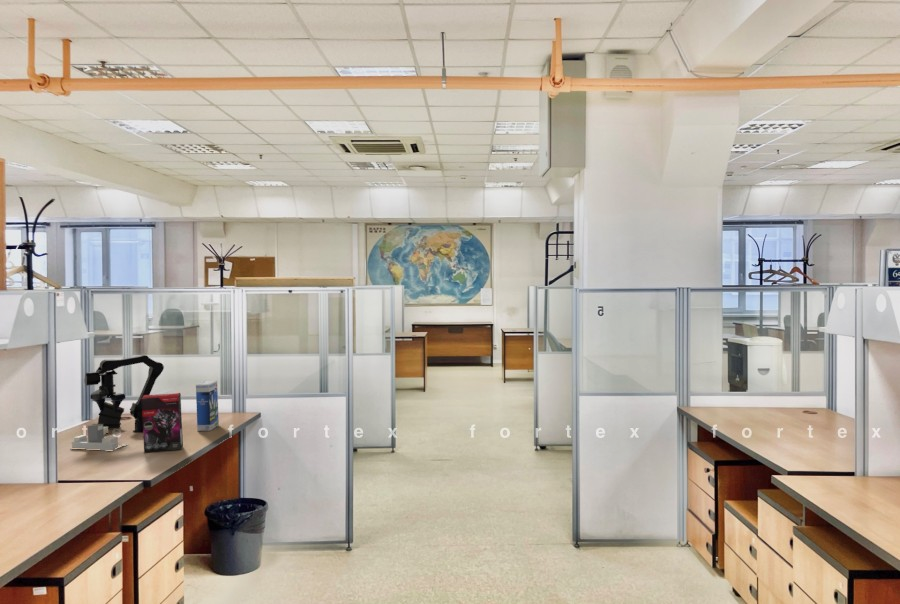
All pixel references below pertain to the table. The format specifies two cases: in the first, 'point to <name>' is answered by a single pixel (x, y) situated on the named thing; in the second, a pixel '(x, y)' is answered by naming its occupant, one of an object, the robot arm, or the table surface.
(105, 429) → the block
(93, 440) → the module
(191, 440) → the table surface
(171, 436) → the graphics card box
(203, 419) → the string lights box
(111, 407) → the black flat block
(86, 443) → the rail plate
